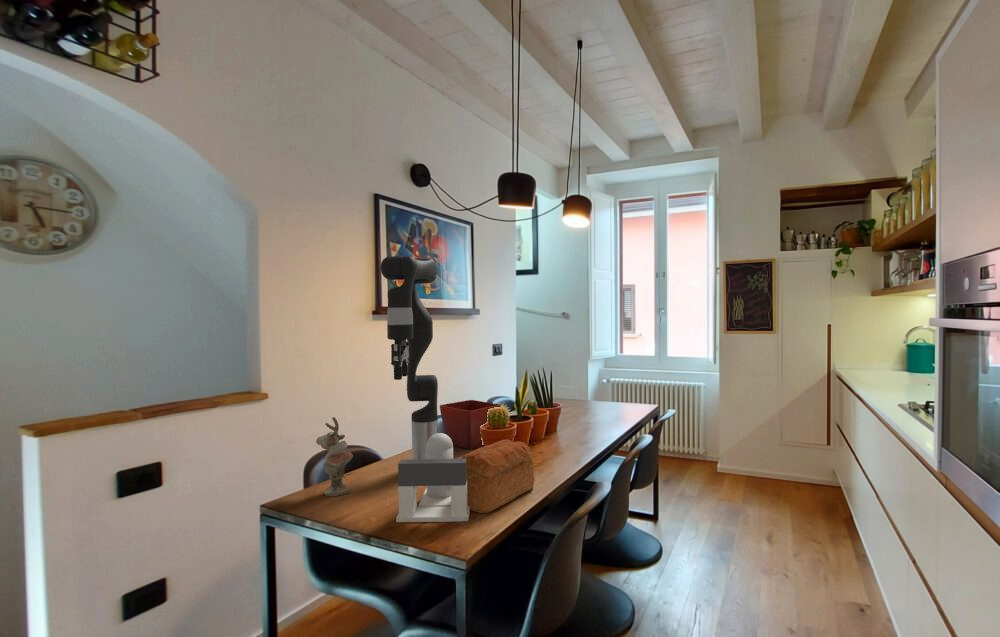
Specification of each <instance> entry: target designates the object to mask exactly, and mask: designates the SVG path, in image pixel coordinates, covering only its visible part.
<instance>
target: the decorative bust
mask: <svg viewBox="0 0 1000 637" xmlns="http://www.w3.org/2000/svg"><path fill="white" fill-rule="evenodd" d="M331 419H332V422H333V424H334V425H335V426H333V425H331V424H329V423H328V422H325V424H324V425H325V426H326V427H327V428H329V429H330V430H331V431H330V432H329V431H328V432H327V433H326V434H325V435H321V436H318V437H316V440H315V443H316V444H317V445H318V446H320V447H321V448H322V449H323V450H326V451H327V453H326V455H325V457H324V459H325V461H324V462H323V472H324V473H325V474H326V475H328V476H329V477H328V479H330V485H329V487H327V488H325V490H324V492H323V495H325V496H326V497H338V496H339V495H340V496H343V495H346V494H348V493H349V492H350V487H348V486H347V485H344V483H343V481H342V480H343V478H344V477H345V468H346V465H347V464H348V463H350V462H351V460H352V459H353V457H354V455H353V453H352V452H350V451H347V449H348V444H347V441H346V440H343V439H344V438H345V437H346V435H345V434H340V435H339V433H338V432H339V430H340V428H339V427H340V426H339V421H338V420H337V419H336V417H333V416H332V417H331Z"/></svg>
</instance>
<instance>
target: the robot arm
mask: <svg viewBox="0 0 1000 637" xmlns="http://www.w3.org/2000/svg"><path fill="white" fill-rule="evenodd" d="M379 268H380V272H381V274H382V276H383V277H384V278H385V279H386V280H388V281H399V280H400V281H401V280H402V281H403V282H402V283H401V285H400V286H397V287H392V288H390V289H389V290H388V291H387V316H386V320H387V321H386V322H387V323H386V325H387V327H386V329H387V336H386V337H387V339H388V340H390V341H391V340H392V341H394V343H391V345H390V348H391V350H390V351H391V353H390V354H391V355H390V356H391V359H390V361H391V363H390V364H391V366H392V367H393V380H395V381H401V380H402V379H403V377H406V395H407V399H408V401H409V402H427V404H426V405H425V406H423V407H422V408H419V409H416V410H414V411H413V412H412V413H411V459H426V444H427V441H428V439H429V438H430V437H431V436H432V435H434V434H437V433H439V430H438V429H439V428H438V427H439V426H438V419H439V418H438V396H439V394H438V392H439V389H438V388H439V382H438V378H437V376H436V375H434V374H425V375H423V374H420V375H417V369H418V366H419V364H420V362H421V360H422V358H423V356H424V354H425V353H426V352H427V351H428V348H429V347H430V346H431V344H432V341H433V339H434V338H433V337H434V336H433V335H434V334H433V333H434V330H433V329H434V328H433V327H434V326H433V325H434V324H433V323H434V322H433V318H432V315H431V314H430V313H429V311H428V310H427V308H426V307H425V305H424V304H423V302H422V300H421V299H420V297H419V295H418V291H417V286H416V285H419V284H421V285H423V284H431V283H434V282H435V281H436V279H437V277H438V276H437V274H438V272H437V271H438V270H437V263H436V262H435V260H434V259H433V258H430V257H413V256H412V255H393V256H386V257H384V258H383V259H382V261H381V263H380V267H379Z"/></svg>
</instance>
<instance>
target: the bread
mask: <svg viewBox="0 0 1000 637" xmlns="http://www.w3.org/2000/svg"><path fill="white" fill-rule="evenodd" d="M459 459H467V491H468V507H470V512H471V511H472V512H475V513H477V514H478V513H479V514H485V513H486V514H487V513H490V512H492V511H495V510H496V509H499V508H500V507H501V506H503V505H505V504H507V503H509V502H511V501H513V500H514V499H515V498H517V497H520V496H521V495H523V494H524V493H526V492H528V491H530V490H532V489H533V488H534V487H535V480H536V478H535V475H534V473H535V472H534V461H533V459H532V453H531V448H530V447H529V445H528V444H526V442H523V441H519V440H518V441H512V440H510V439H502V440H499V441H495V442H494V443H491V444H488V445H485V446H481V447H477V448H476V449H474V450H471V451H470V452H468V453H466V454H463V456H462V457H460V458H459Z"/></svg>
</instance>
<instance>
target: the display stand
mask: <svg viewBox="0 0 1000 637" xmlns="http://www.w3.org/2000/svg"><path fill="white" fill-rule="evenodd" d="M426 459H454V445H453V443H452V440H451V438H450V437H449V436H448V435H446V433H443V432H442V433H441V432H438V433H437V434H434V435H432V436H431V437H430V438H429V439H428V441H427V444H426ZM417 488H418V486H398V488H397V491H398V495H397V496H398V513H397V516H396V518H395V519H396V520H395V521H396V522H395V523H430V522H432V523H433V522H434V523H437V522H438V523H441V522H442V523H443V522H469V520H470V519H469V518H470V514H471V513H470V512H471V510H470V507H468V491H467V482H466V485H451V486H426V488H425V490H424V491H423V494H422V496H421V499H420V502H419V503H418V496H417V495H418V489H417Z"/></svg>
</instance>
